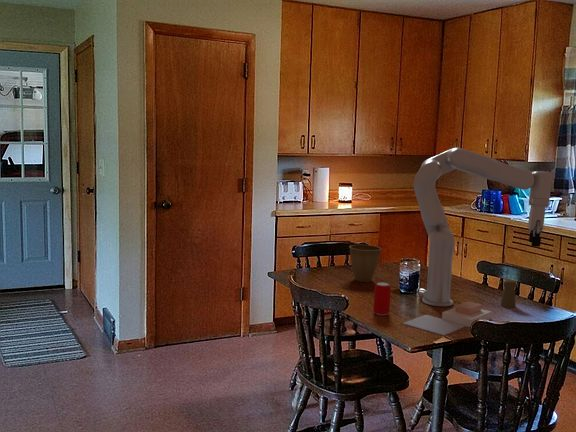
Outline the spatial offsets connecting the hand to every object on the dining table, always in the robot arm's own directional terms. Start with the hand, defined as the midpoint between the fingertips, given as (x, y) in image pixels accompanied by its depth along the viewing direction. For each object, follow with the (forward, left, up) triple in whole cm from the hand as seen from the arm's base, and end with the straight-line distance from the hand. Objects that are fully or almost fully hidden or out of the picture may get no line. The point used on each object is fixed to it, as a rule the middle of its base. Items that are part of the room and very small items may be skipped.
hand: (534, 244), depth 246 cm
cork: (-8, -1, -28) cm, 29 cm away
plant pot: (-73, -14, -28) cm, 79 cm away
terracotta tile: (-10, -31, -24) cm, 41 cm away
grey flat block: (-10, -32, -27) cm, 44 cm away
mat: (-15, -48, -27) cm, 57 cm away
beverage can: (-36, -52, -28) cm, 69 cm away
